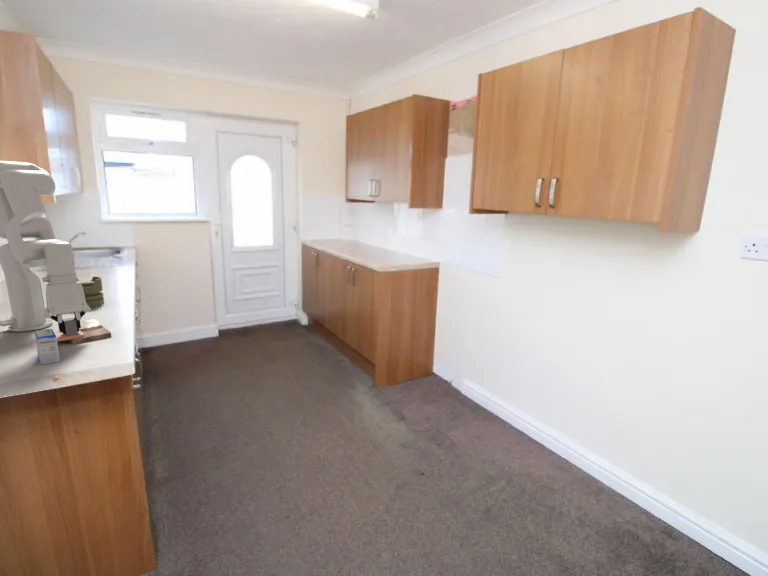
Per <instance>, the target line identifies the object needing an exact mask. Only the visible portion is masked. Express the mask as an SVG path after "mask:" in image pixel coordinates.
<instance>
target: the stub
mask: <svg viewBox="0 0 768 576" xmlns="http://www.w3.org/2000/svg"><path fill="white" fill-rule="evenodd" d="M62 320H63V322H64V323H65V330H66V334H63V333H62V332H58V333H55V335H56V338H57V343H58V342H62V341H68V340H69V339H74V338H79V337H84V334H83V333H82V332H81V331H80V330H79V332H78V331H77V325H76V320H75V319H74V317H66V318H62ZM69 341H70V340H69Z"/></svg>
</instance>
